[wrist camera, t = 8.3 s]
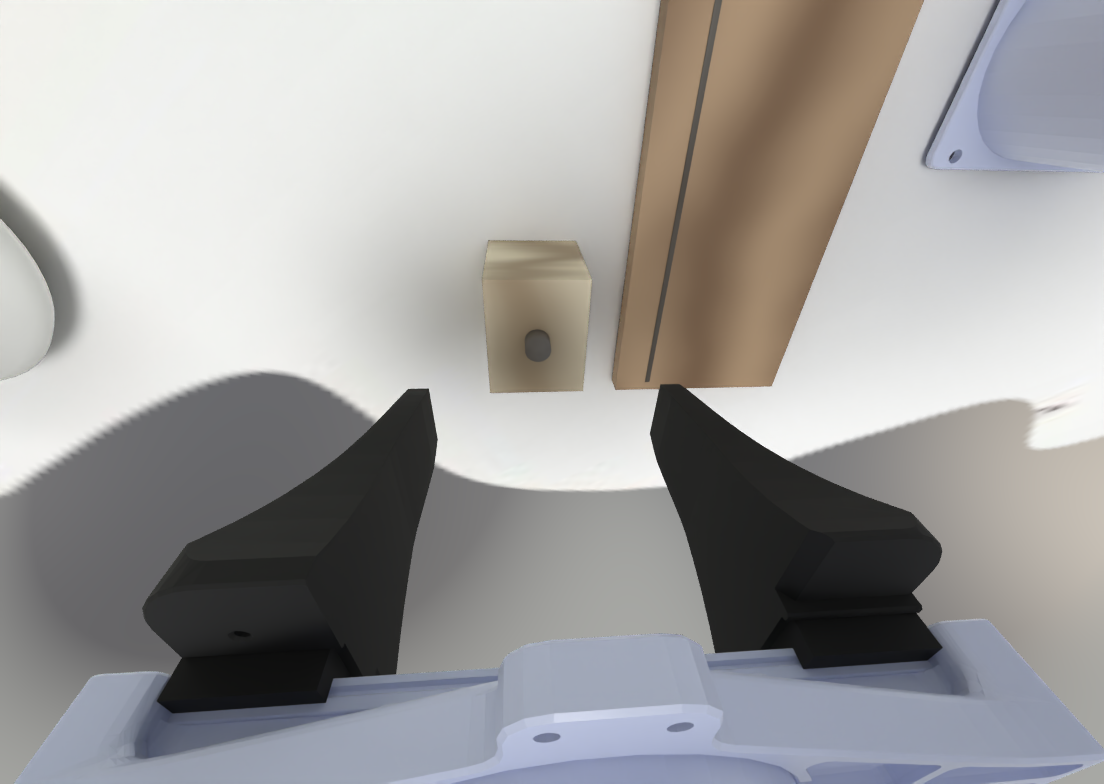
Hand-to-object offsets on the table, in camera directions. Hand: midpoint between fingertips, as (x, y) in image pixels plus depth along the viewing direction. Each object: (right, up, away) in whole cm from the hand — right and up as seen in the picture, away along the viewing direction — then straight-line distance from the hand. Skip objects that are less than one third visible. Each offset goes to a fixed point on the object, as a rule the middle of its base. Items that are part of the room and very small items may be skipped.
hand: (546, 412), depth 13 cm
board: (+8, +10, +5) cm, 14 cm away
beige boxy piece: (-1, +6, +7) cm, 9 cm away
